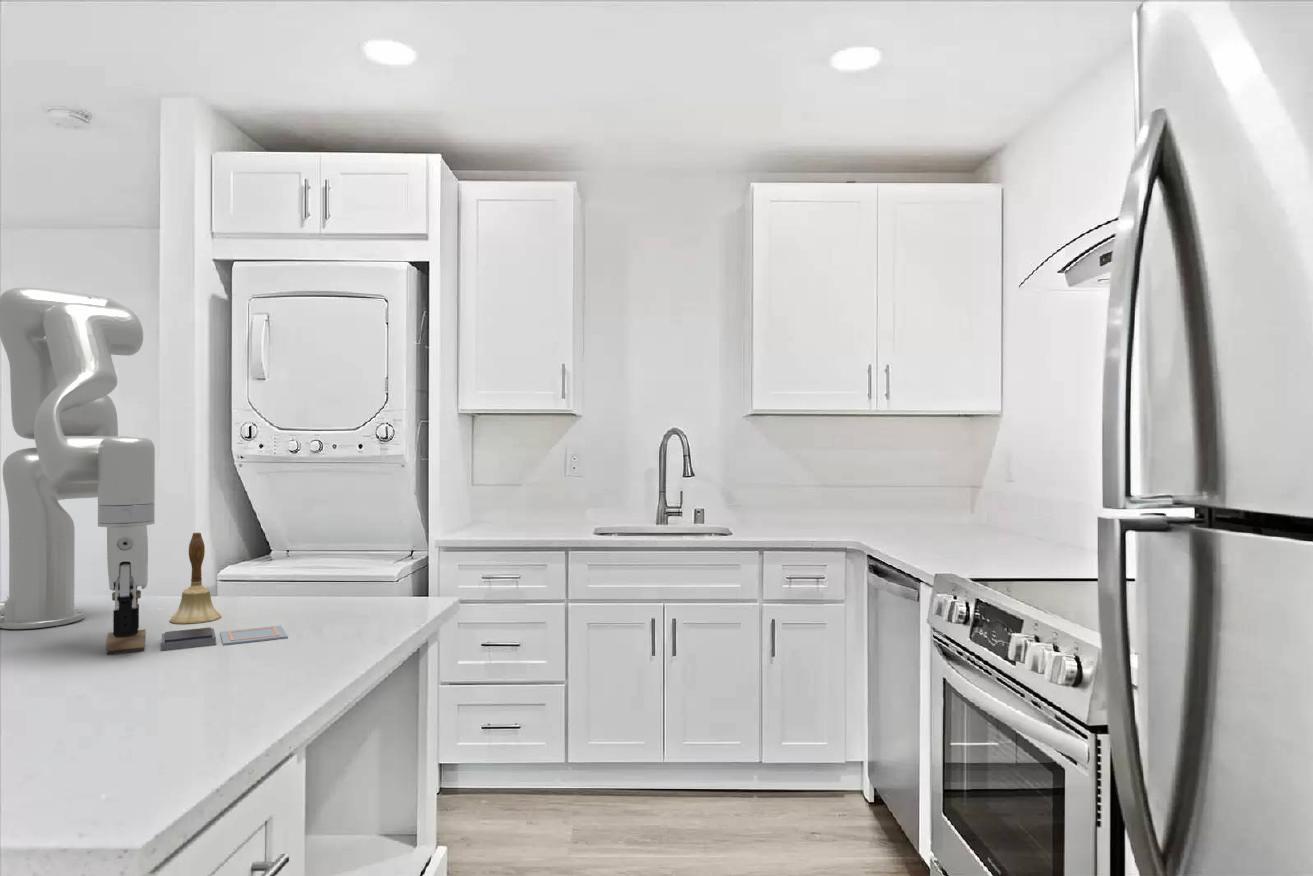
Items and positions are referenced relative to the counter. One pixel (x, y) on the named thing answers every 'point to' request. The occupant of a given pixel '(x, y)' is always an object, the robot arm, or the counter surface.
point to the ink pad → (188, 638)
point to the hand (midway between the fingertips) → (126, 631)
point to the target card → (252, 635)
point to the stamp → (126, 638)
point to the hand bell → (196, 591)
